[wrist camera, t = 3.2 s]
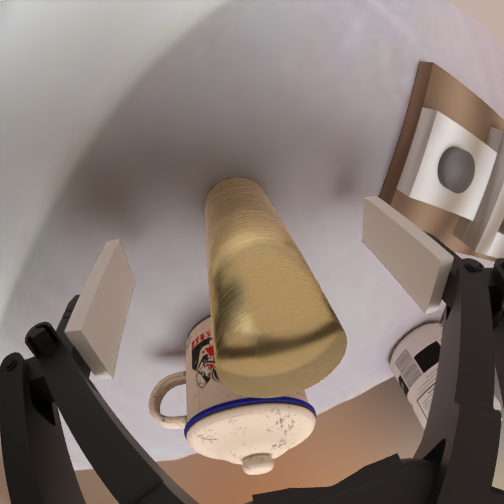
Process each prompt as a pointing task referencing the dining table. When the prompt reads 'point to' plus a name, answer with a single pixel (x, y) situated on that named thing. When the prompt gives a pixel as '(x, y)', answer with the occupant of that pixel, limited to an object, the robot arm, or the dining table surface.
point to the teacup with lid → (231, 412)
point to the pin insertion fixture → (450, 166)
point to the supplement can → (420, 367)
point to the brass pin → (264, 298)
